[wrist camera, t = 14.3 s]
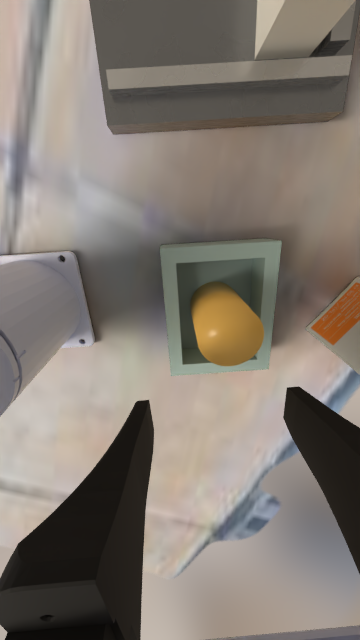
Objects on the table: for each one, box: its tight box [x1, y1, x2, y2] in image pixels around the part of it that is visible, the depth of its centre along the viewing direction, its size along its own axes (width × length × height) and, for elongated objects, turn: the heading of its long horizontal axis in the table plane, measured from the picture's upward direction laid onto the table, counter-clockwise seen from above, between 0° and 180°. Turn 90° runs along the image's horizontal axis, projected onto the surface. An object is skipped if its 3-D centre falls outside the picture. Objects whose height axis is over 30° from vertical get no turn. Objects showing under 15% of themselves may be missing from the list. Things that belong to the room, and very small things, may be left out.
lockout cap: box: [190, 282, 264, 366], centre depth 17 cm, size 4×4×6 cm
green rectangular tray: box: [160, 238, 282, 376], centre depth 19 cm, size 8×10×3 cm
